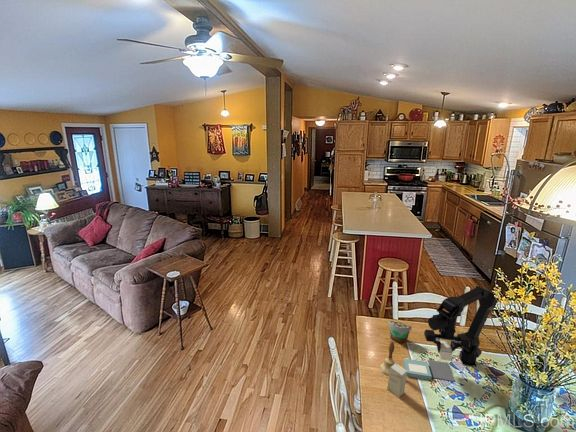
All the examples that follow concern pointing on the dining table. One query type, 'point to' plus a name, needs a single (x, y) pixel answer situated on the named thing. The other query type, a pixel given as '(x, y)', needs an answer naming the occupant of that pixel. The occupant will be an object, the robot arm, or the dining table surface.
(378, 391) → the dining table surface
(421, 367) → the ticket book
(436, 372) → the mat
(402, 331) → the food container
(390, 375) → the skincare box
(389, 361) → the hand bell
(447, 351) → the stub
